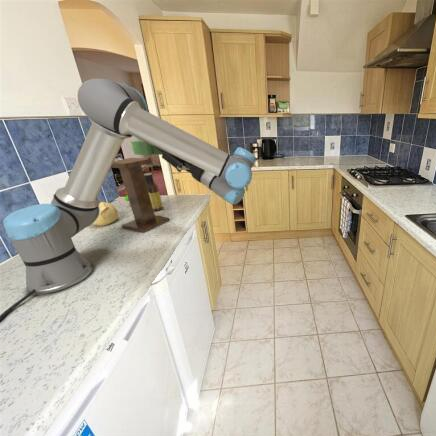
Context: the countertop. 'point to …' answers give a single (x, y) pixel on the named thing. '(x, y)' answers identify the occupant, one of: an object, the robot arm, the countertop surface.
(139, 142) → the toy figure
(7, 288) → the countertop surface
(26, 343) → the countertop surface
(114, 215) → the sculpture
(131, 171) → the walnut stand
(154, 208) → the sauce bottle
